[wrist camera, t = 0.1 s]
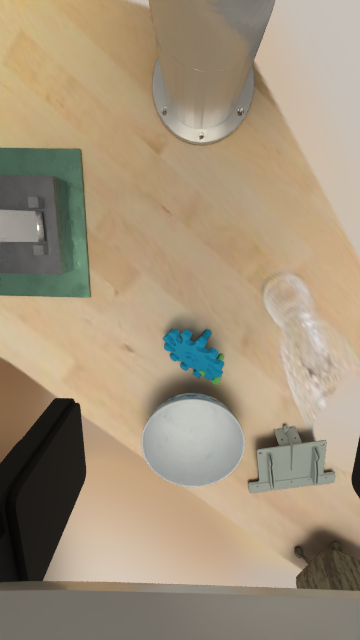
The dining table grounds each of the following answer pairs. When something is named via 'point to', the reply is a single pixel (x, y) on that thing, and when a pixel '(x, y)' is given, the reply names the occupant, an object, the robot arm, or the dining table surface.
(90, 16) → the dining table surface
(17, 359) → the dining table surface
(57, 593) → the robot arm
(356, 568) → the tabletop clock
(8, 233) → the steel strap
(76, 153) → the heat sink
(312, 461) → the metal bracket
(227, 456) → the chinaware
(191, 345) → the gear
